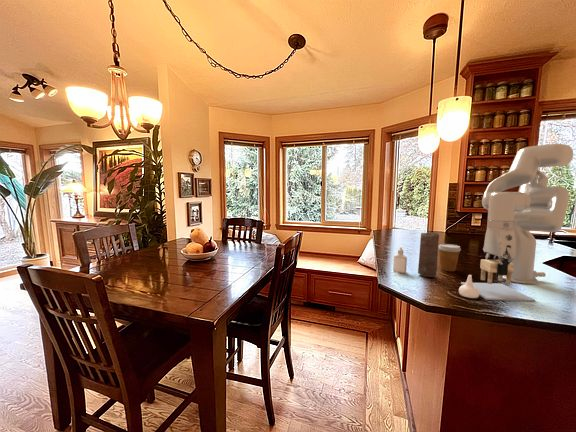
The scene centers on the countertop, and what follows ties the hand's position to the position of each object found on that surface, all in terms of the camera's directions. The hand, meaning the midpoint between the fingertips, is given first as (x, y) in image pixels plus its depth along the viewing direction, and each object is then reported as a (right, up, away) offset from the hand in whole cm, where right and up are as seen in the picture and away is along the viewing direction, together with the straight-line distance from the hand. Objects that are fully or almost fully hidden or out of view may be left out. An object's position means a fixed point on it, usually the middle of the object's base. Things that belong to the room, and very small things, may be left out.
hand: (495, 271), depth 97 cm
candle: (-16, -6, +18) cm, 25 cm away
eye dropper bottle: (-26, -6, +25) cm, 37 cm away
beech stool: (0, -4, 0) cm, 4 cm away
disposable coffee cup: (0, -5, +29) cm, 29 cm away
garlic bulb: (-12, -8, -2) cm, 15 cm away
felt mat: (0, -8, +1) cm, 8 cm away
